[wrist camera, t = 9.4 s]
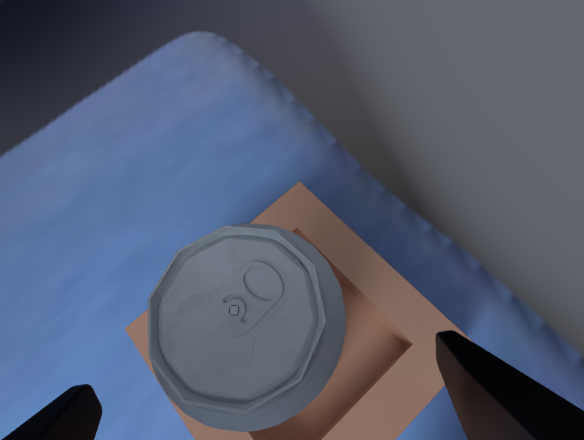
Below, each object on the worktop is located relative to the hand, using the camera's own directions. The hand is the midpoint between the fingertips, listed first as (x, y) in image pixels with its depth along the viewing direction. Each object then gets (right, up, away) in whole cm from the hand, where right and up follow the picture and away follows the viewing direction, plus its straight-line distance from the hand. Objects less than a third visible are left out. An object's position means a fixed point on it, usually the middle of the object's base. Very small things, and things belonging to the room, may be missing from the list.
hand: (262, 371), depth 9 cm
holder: (+1, -3, +10) cm, 10 cm away
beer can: (+1, -3, +10) cm, 10 cm away
